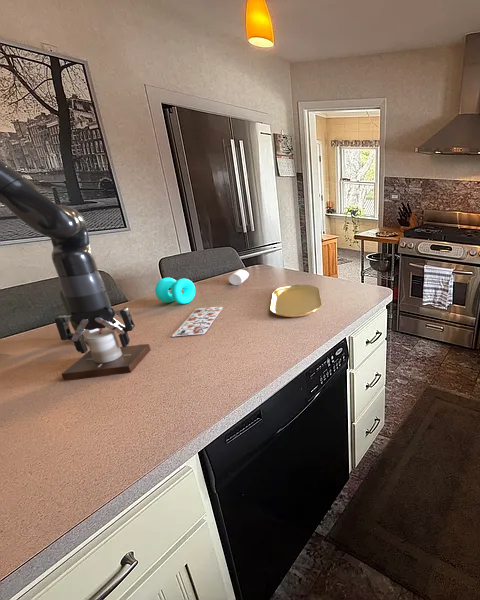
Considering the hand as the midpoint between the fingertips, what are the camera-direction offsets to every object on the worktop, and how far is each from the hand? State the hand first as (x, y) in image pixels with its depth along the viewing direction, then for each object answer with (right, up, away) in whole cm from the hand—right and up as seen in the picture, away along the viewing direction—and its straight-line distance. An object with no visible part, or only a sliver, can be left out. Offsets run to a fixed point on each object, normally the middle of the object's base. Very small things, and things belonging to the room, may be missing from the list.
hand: (105, 348), depth 85 cm
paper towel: (+8, +6, +28) cm, 30 cm away
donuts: (-10, +12, +44) cm, 46 cm away
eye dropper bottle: (-16, 0, +14) cm, 21 cm away
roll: (+1, +22, +70) cm, 73 cm away
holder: (0, -4, +2) cm, 5 cm away
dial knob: (0, -2, +1) cm, 3 cm away
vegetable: (-21, +1, +17) cm, 27 cm away
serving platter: (+36, +12, +46) cm, 59 cm away
